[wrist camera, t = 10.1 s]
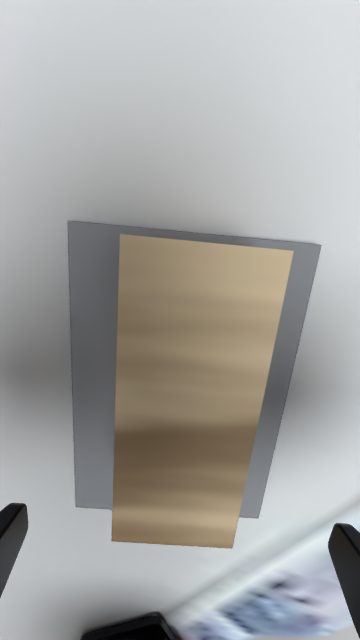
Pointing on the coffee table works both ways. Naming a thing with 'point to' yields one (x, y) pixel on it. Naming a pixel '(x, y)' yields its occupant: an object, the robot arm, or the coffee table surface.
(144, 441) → the oak block
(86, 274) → the slate mat
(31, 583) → the coffee table surface
